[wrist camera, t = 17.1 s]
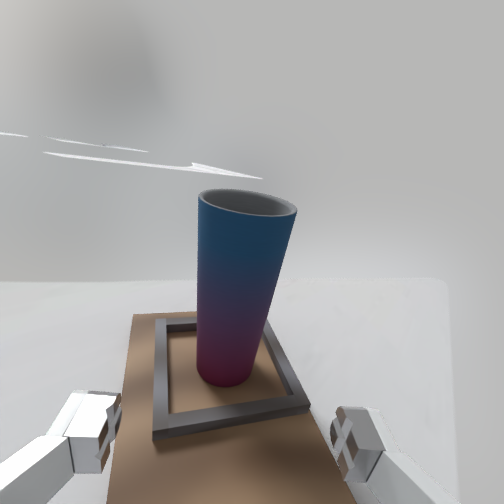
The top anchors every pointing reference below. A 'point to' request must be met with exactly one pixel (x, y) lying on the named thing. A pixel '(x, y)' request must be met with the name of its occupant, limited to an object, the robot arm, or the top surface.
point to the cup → (236, 277)
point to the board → (215, 427)
